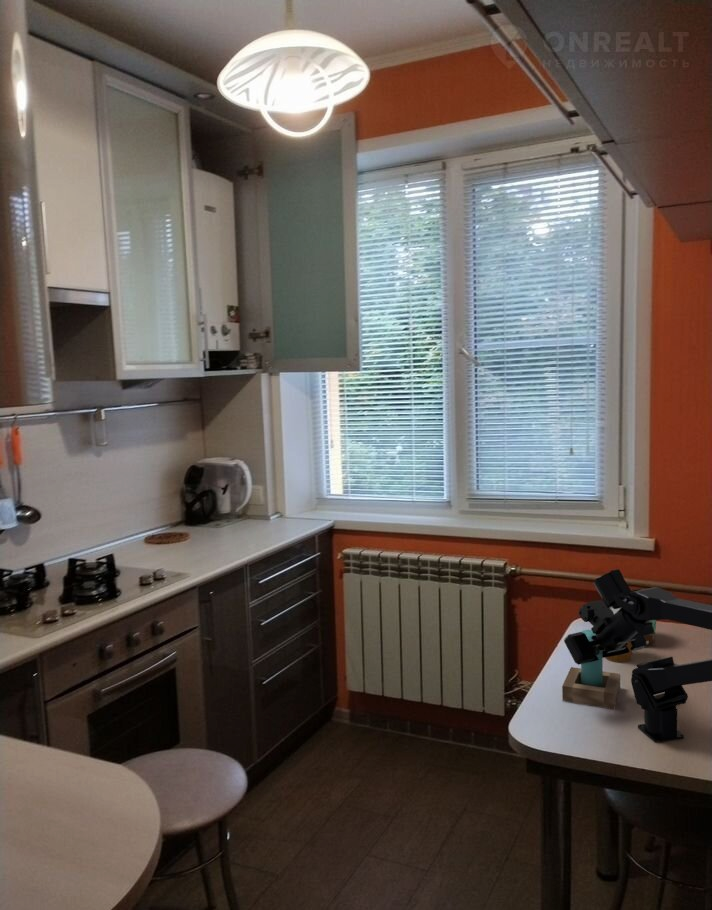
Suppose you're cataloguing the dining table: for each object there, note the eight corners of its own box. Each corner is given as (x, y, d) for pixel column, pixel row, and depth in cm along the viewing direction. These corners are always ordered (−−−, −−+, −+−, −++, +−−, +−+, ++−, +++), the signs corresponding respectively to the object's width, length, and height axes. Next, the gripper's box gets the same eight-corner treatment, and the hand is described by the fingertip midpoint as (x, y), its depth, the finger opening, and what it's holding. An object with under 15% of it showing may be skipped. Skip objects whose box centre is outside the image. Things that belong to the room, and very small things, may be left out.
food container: (663, 650, 189) (664, 612, 187) (638, 649, 190) (638, 612, 189) (654, 633, 201) (654, 598, 199) (630, 632, 202) (630, 597, 201)
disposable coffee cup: (620, 648, 191) (620, 603, 190) (646, 661, 182) (646, 614, 181) (590, 654, 188) (589, 609, 187) (615, 667, 179) (615, 620, 178)
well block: (620, 688, 168) (620, 673, 167) (614, 709, 158) (614, 693, 157) (571, 681, 172) (571, 667, 172) (562, 700, 163) (562, 685, 162)
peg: (594, 695, 162) (594, 638, 160) (577, 688, 165) (576, 633, 164) (606, 688, 165) (606, 633, 163) (588, 682, 168) (588, 628, 167)
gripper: (636, 586, 162) (601, 620, 174) (569, 599, 155) (537, 634, 166) (664, 631, 156) (626, 663, 167) (595, 647, 149) (560, 679, 160)
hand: (587, 658), depth 165 cm, fingers closed on peg, 4 cm apart
